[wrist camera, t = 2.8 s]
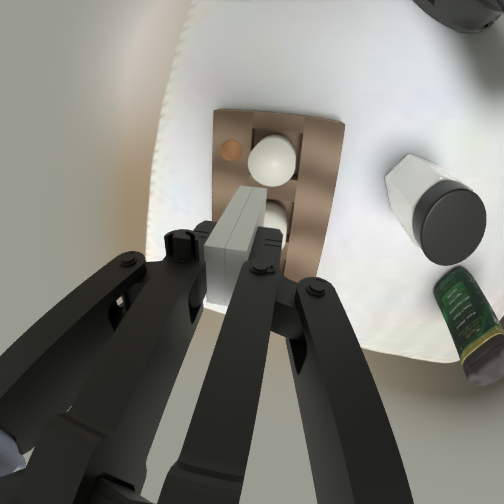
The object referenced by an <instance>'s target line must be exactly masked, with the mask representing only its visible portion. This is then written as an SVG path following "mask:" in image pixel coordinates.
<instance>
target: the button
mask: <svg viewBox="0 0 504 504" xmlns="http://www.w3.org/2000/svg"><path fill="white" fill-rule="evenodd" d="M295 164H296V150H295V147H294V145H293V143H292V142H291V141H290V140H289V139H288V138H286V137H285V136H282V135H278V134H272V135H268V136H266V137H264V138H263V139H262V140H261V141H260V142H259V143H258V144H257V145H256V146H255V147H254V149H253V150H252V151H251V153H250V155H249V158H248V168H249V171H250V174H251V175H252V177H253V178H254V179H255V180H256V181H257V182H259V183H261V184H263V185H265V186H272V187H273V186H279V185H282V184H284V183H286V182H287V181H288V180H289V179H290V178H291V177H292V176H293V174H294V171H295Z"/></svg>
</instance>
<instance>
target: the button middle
mask: <svg viewBox="0 0 504 504" xmlns="http://www.w3.org/2000/svg"><path fill="white" fill-rule="evenodd" d="M287 223H288V216H287V213H286V211H285V209H284V208H283V207H282V206H281V205H279V204H277V203H275V202H266V208H265V219H264V227H268V228H276V229H280V231H281V232H282V234H283V241H282V249H283V247H284V245H285V242H286V232H287ZM282 249H281V250H282Z"/></svg>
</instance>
